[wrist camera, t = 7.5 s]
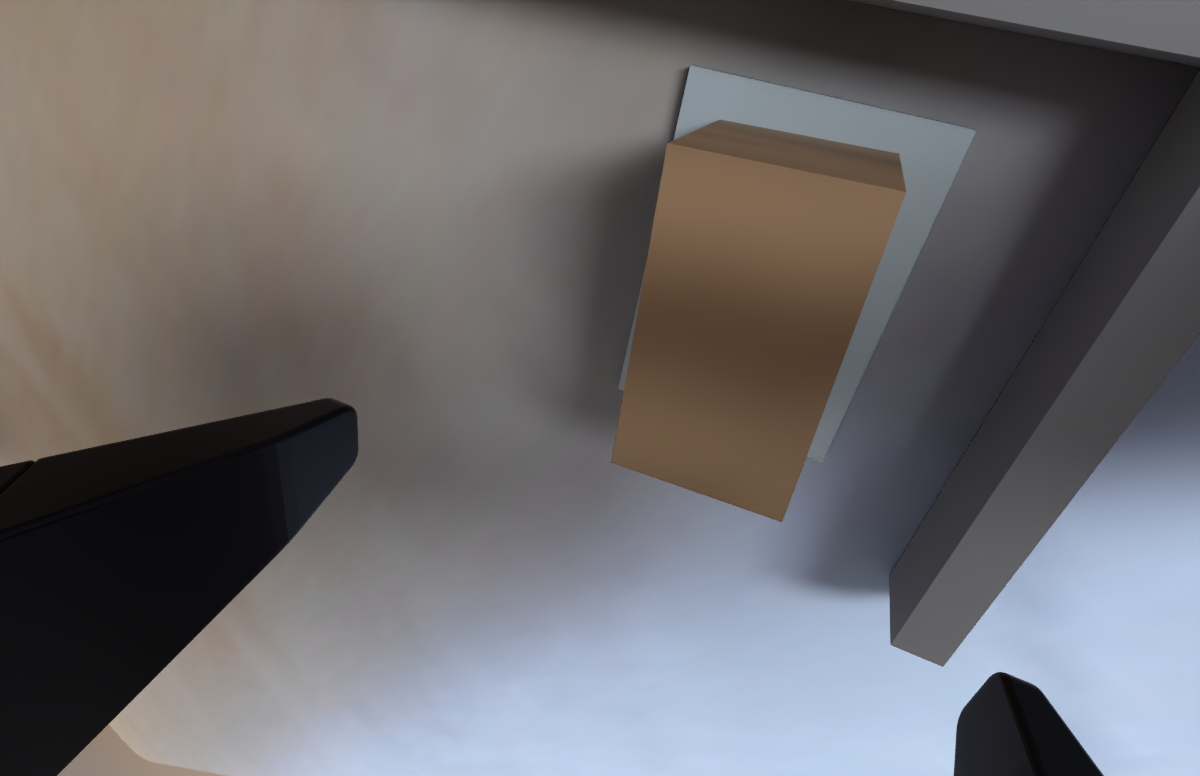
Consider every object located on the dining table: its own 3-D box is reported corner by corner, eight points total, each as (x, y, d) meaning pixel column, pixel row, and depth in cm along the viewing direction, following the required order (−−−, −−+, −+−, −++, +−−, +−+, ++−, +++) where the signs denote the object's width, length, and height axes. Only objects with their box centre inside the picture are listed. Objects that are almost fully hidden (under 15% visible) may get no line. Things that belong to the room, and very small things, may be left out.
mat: (975, 128, 15) (976, 130, 15) (822, 457, 20) (822, 462, 20) (693, 65, 16) (690, 65, 16) (620, 385, 22) (617, 389, 21)
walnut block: (802, 422, 19) (781, 522, 15) (664, 380, 21) (611, 462, 16) (898, 153, 15) (906, 192, 11) (720, 119, 16) (667, 143, 12)
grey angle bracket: (1345, -4, 12) (1469, -17, 9) (935, 593, 21) (943, 666, 18) (468, -144, 16) (394, -179, 14) (442, 400, 25) (395, 438, 23)
